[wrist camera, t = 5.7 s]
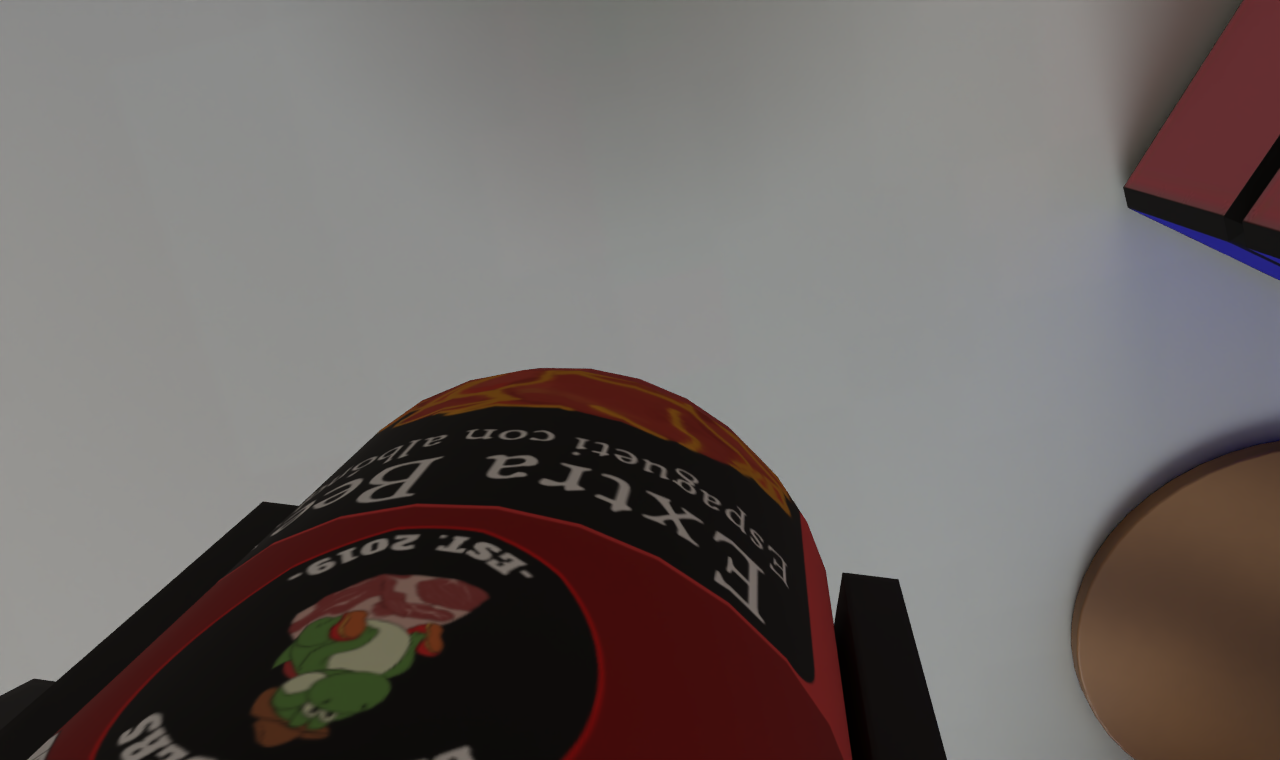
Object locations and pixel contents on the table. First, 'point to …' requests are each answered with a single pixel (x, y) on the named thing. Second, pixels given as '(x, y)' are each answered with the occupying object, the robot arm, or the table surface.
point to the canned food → (506, 600)
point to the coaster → (1189, 616)
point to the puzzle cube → (1223, 147)
